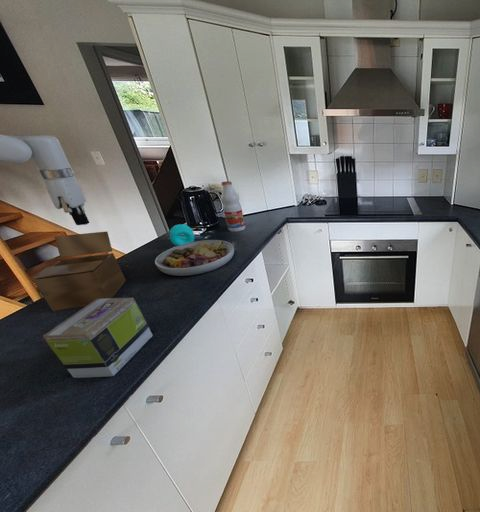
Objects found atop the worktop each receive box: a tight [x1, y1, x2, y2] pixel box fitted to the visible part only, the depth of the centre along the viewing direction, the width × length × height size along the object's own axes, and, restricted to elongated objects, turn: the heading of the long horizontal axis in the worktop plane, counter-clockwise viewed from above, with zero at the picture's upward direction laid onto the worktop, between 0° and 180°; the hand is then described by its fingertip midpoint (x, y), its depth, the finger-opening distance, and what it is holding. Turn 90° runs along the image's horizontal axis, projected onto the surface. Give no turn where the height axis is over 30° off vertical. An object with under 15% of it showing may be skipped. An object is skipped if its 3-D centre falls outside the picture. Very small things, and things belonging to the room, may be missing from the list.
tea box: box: [42, 297, 154, 379], centre depth 72 cm, size 15×10×15 cm
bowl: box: [154, 239, 235, 277], centre depth 123 cm, size 30×30×8 cm
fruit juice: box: [220, 180, 246, 233], centre depth 157 cm, size 9×9×28 cm
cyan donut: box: [169, 223, 196, 247], centre depth 140 cm, size 10×10×10 cm
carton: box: [31, 252, 127, 312], centre depth 98 cm, size 15×16×13 cm
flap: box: [54, 231, 113, 259], centre depth 101 cm, size 15×8×1 cm
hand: (83, 224), depth 102 cm, fingers closed
